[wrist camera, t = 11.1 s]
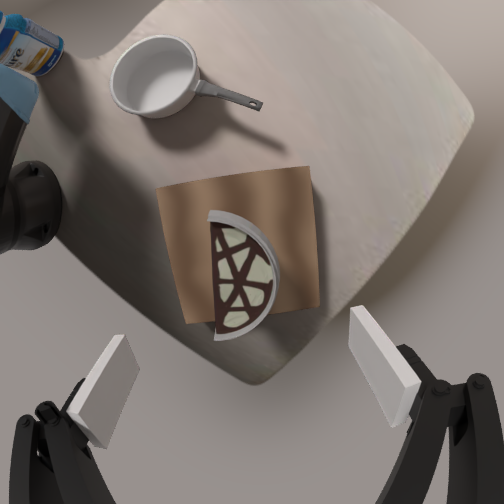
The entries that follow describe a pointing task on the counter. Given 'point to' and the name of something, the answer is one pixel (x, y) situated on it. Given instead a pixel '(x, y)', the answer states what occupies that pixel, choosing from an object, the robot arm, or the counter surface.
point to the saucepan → (163, 79)
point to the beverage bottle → (28, 45)
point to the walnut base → (255, 211)
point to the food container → (241, 274)
